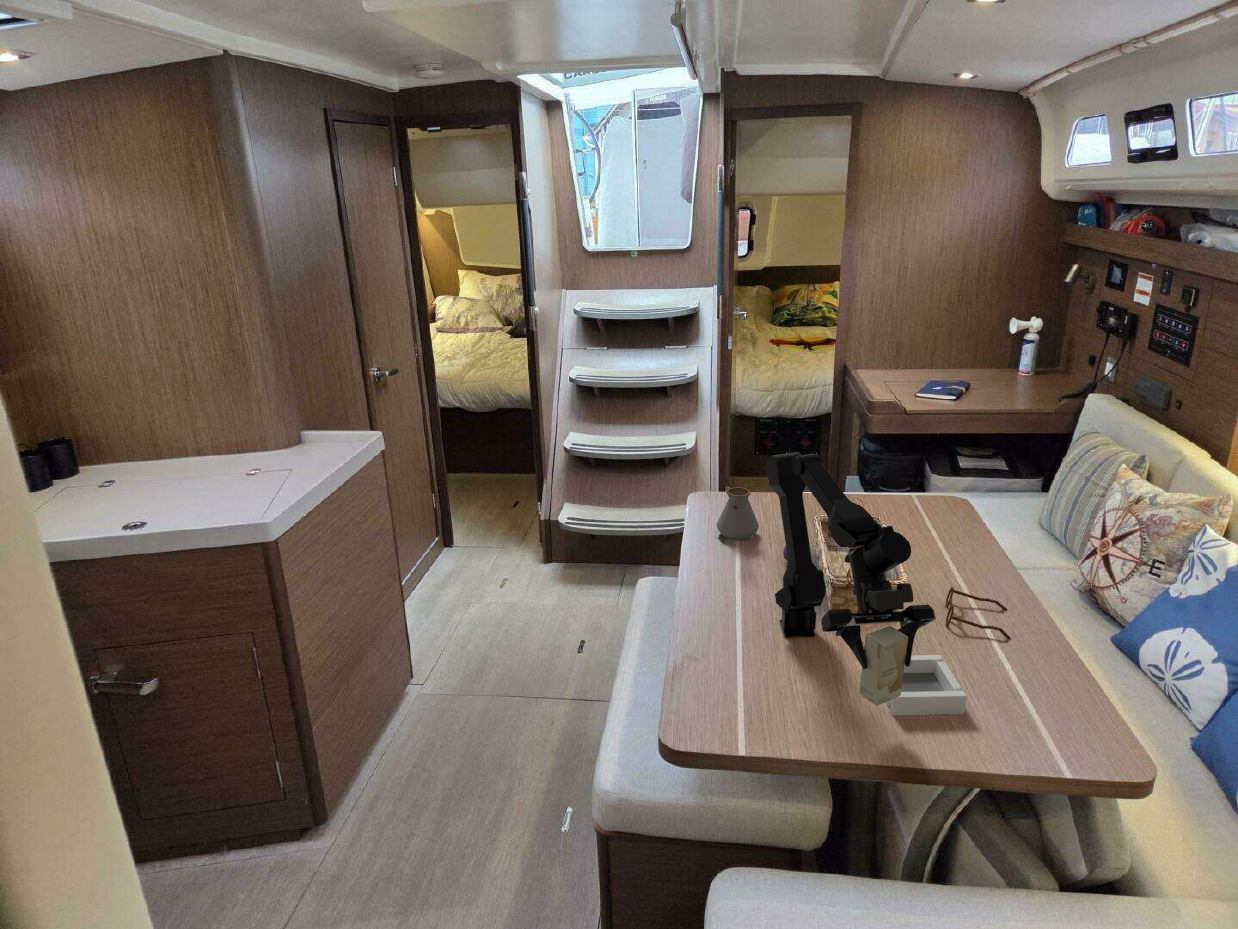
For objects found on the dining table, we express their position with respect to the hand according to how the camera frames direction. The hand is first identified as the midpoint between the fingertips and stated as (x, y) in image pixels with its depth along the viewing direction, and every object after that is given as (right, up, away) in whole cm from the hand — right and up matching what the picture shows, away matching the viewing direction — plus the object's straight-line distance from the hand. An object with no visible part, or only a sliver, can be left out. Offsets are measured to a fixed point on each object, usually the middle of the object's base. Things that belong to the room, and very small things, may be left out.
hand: (886, 667), depth 138 cm
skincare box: (0, -6, +4) cm, 7 cm away
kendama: (-3, +7, +59) cm, 60 cm away
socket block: (+10, -8, +14) cm, 20 cm away
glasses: (+33, 0, +39) cm, 51 cm away
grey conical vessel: (-15, +14, +78) cm, 80 cm away
